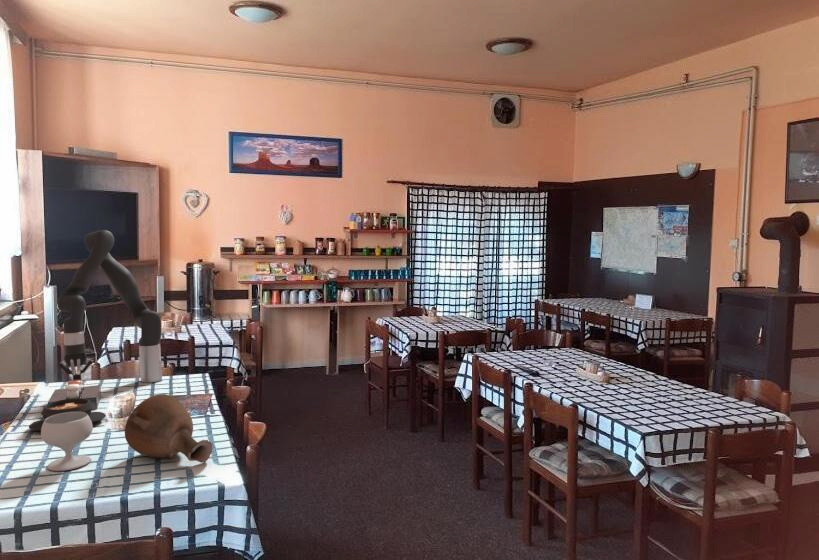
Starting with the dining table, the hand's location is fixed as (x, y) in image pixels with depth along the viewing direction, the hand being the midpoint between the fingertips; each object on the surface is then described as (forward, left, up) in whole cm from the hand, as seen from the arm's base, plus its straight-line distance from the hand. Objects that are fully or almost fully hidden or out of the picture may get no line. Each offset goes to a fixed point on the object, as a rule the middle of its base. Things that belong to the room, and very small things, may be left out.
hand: (77, 383), depth 261 cm
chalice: (-5, +77, -8) cm, 77 cm away
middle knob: (0, +7, -3) cm, 8 cm away
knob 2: (0, 0, -7) cm, 7 cm away
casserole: (0, +35, -8) cm, 36 cm away
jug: (-35, +84, -8) cm, 92 cm away
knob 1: (0, +14, -4) cm, 14 cm away
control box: (0, +7, -8) cm, 10 cm away
